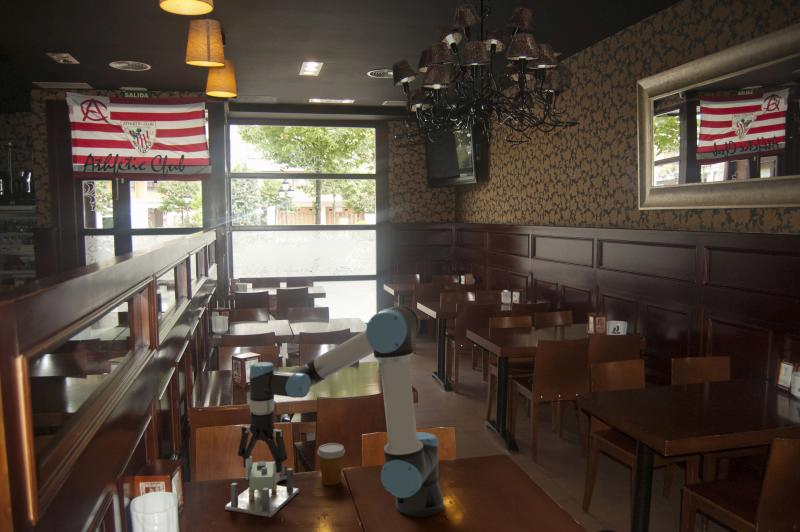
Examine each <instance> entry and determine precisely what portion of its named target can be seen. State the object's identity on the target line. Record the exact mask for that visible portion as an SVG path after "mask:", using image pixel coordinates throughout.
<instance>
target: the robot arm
mask: <svg viewBox="0 0 800 532" xmlns="http://www.w3.org/2000/svg"><path fill="white" fill-rule="evenodd" d="M420 322H421V321H420V317H419V315H418V313H417V312H416V311H415V309H413V308H412V307H411V306H408V305H405V304H397V305H393V306H391V307H388V308H385V309H381V310H379V311H378V312H376V313H375V314H374V315H373V316H371V318H370V319H369V320H368V322H367V325H366V327H365V328H366V329H365V330H364V331H362V332H359V333H358V334H356V335H354V336H352V337H351V338H349V339H347V340H346V341H344V342H342V343H341V344H339V345H337V346H335V347H333V348H331V349H329V350H328V351H326V352H324V353H323V354H320V355H319V356H317V357H316V358H314V359H312V360H310V361H308V362H306V363H304V364H303V365H300V366H299V367H296V368H294V369H292V370H290V371H280V370H277V369H276V368H275V366H274V363H272V362H270V361H259V362H255V363H253V364H251V365H250V366H249V367H250V368H249V393H250V394H249V395H250V396H249V411H250V413H249V423H250V425H248V424H246V425H244V426H242V427H241V437H240V438H241V439H240V443H239V447H238V451H237V456H238V457H242V459H243V468H244V469H245V480H249V477H250V473H251V469H252V465H253V456H251V454H252V452H253V450H254V447H255V446H256V444H257V441H261V442H265V444H266V445H267V446H268V449H269V451H270V453H271V456H272V457H273V460H274V461H273V462H274V463H273V483H274V484H276V483H277V484H278V483H279V482H280V481H279V475H280V474H281V473H280V472H281V470H282V467H283V466H282V464H283V463H284V462H286V460H288V454H287V448H286V445H285V441H284V436H283V435H284V429H282V428H281V429H276V428H275V426H274V424H275V411H274V410H275V396H281V397H287V398H294V399H296V398H300V399H303V398H305V397H307V396H308V393H309V392H310V389H311V388H312V387H313V386H316V385H317V384H319V383H321V382H323V381H324V380H326V379H328V378H330V377H331V376H333V375H335V374H337V373H339V372H340V371H343V370H344V369H346V368H348V367H350V366H351V365H354V364H356V363H357V362H359V361H362V359H363V360H364V358H367V357H368V356H370V355H372V354H373V358H375V359H376V360H377V361H378V362H379V365H380V373H381V374H380V375H381V384H382V393H383V394H382V395H383V403H384V412H385V413H384V414H385V422H386V431H387V432H386V434H387V444H385V445H384V447H383V455H384V456H383V457H384V463H385V464H384V465H383V466H382V467H381V468H382V469H381V472H380V480H381V483H382V485H383V486H384V487H383V488H384V489H385V491H388V492H389V493H390V494H391V495H392V496H393V497H395V507H396V510H398V512H400V513H402V514H403V515H406V516H409V517H415V518H417V517H418V518H423V517H424V518H426V517H431V515H432V516H435V515H437V514H439V513H440V512H442V510H443V509H444V497H443V494H442V491H441V487H440V484H439V447H440V445H439V438H438V437H437V435H435V434H432V433H429V432H424V431H417V424H416V414H415V404H414V394H413V385H412V373H411V365H410V358H411V357H413V354H414V351H415V350H414V342H413V339H415V338H416V336H417V335H418V333H419V331H420V326H421V323H420ZM250 433H251V434H252V436H251V438H250V440H249V436H250ZM248 441H249V443H248ZM438 512H439V513H438ZM434 514H435V515H434Z"/></svg>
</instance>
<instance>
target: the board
mask: <svg viewBox="0 0 800 532" xmlns="http://www.w3.org/2000/svg"><path fill="white" fill-rule="evenodd" d="M274 462H275V461H266V460H261V461H260V460H259V461H257V462H255V461H254V462H252V469H251V473H250V477H249V479H248V480H249V487H248V488H249V490H262V489H263V488H264V487H265V488H269V489H273V463H274Z"/></svg>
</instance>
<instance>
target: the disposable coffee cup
mask: <svg viewBox="0 0 800 532" xmlns="http://www.w3.org/2000/svg"><path fill="white" fill-rule="evenodd" d="M345 453H346V450H345V448H344V445H343V444H340V443H337V442H334V443H333V442H331V443H330V442H329V443H325V444H322V445H320V446H319V447H318V449H317V453H316V454H317V456H318V458H319V460H318V462H319V468H320V474H321V482H322V484H324V485H326V486H336V485H338V484H339V483H341V479H342V471H343V462H344V455H345Z"/></svg>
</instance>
